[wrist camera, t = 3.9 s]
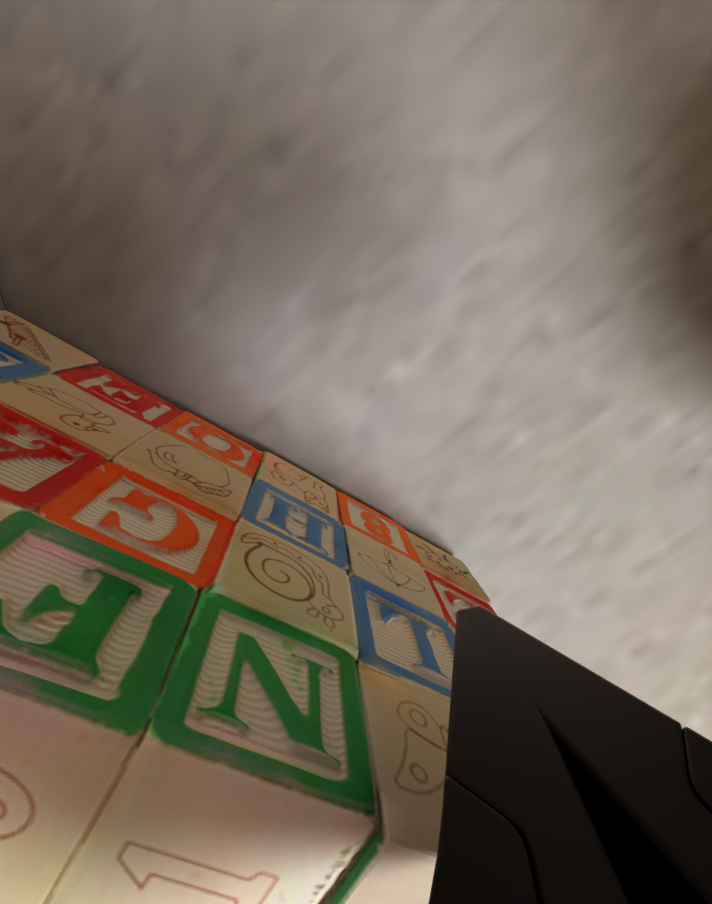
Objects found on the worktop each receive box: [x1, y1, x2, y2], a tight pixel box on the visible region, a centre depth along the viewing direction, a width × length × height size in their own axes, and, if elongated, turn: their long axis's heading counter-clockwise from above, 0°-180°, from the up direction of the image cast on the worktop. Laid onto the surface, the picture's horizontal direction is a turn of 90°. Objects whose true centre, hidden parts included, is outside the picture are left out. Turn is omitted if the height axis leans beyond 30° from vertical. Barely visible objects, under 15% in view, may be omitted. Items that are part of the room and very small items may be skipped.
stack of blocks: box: [0, 308, 496, 904], centre depth 11 cm, size 21×6×12 cm, turn 58°
